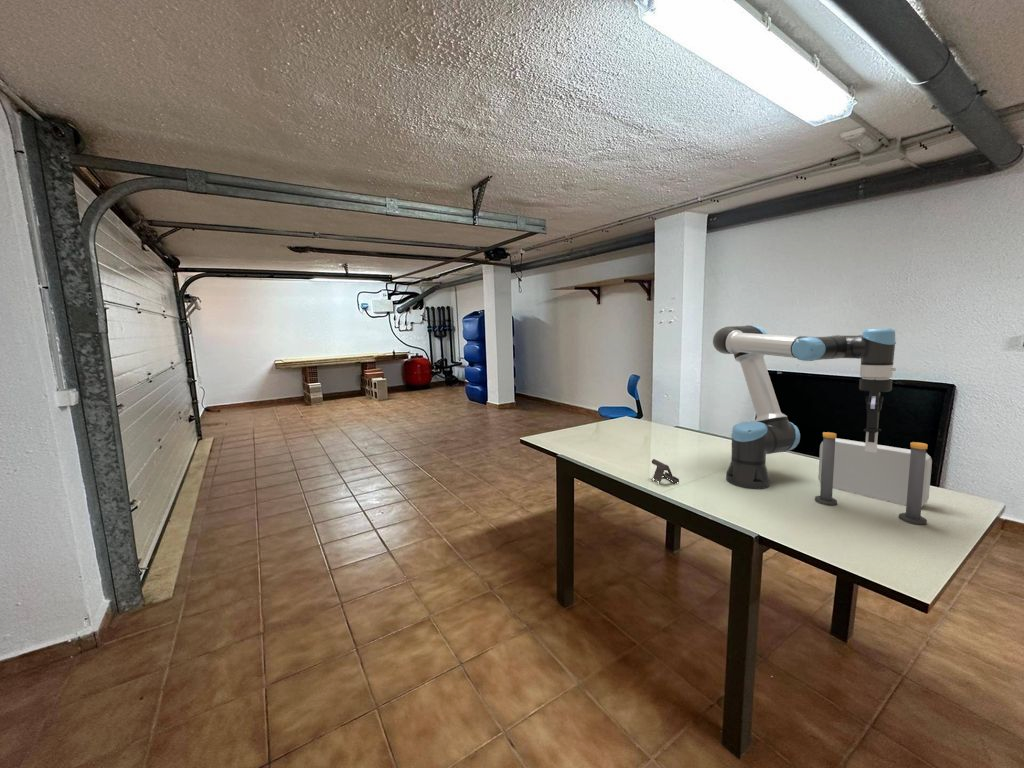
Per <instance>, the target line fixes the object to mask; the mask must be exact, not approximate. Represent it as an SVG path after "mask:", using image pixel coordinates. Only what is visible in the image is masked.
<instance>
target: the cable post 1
mask: <svg viewBox="0 0 1024 768" xmlns="http://www.w3.org/2000/svg"><path fill="white" fill-rule="evenodd" d="M835 438H837V433H835V432H830V431H827V432H825V431H823V432H822V439H823V440H822V442H823V453H822V471H821V483H820V489H819V490H820V492H819V493H820V494H819V495H816V496H814V501H815V502H816V503H818V504H820V505H824V506H831V507H832V506H837V505H838V500H837V499H836V498H833V489H834V488H833V473H834V455H835Z"/></svg>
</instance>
